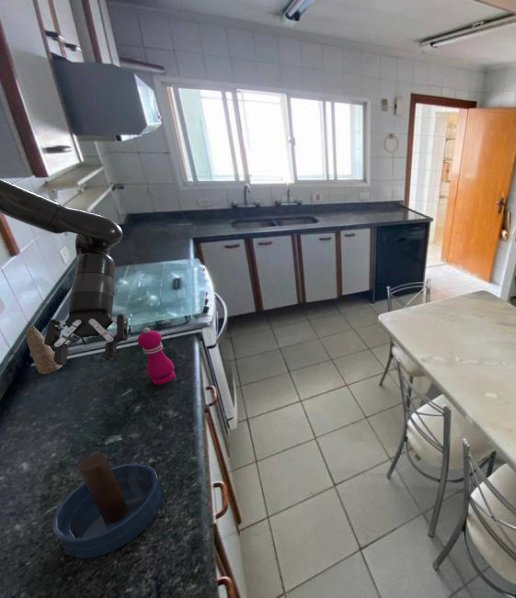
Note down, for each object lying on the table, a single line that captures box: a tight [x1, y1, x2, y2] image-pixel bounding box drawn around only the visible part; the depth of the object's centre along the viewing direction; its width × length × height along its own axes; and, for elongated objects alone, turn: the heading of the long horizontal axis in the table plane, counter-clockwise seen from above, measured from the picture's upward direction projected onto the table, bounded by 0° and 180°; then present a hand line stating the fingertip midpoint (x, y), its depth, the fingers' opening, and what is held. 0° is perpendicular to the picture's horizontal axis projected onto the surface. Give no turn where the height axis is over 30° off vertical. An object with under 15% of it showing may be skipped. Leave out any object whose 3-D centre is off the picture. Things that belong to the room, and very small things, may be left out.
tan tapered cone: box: [25, 325, 64, 375], centre depth 104 cm, size 6×18×6 cm
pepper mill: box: [137, 327, 177, 386], centre depth 104 cm, size 7×7×20 cm
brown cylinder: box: [77, 452, 128, 524], centre depth 66 cm, size 4×4×16 cm
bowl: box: [52, 462, 164, 559], centre depth 68 cm, size 16×16×6 cm
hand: (85, 361), depth 74 cm, fingers open, 8 cm apart
